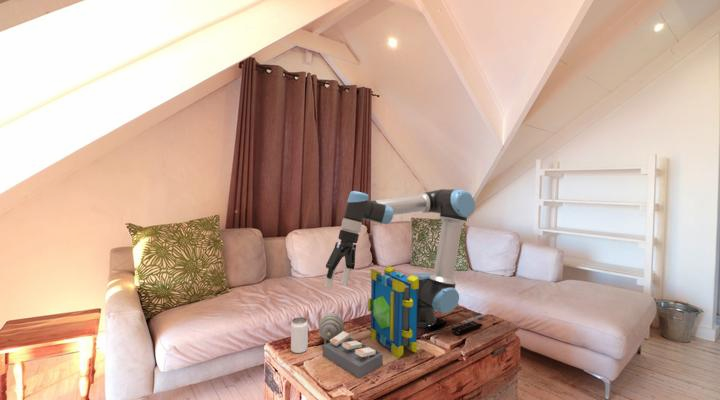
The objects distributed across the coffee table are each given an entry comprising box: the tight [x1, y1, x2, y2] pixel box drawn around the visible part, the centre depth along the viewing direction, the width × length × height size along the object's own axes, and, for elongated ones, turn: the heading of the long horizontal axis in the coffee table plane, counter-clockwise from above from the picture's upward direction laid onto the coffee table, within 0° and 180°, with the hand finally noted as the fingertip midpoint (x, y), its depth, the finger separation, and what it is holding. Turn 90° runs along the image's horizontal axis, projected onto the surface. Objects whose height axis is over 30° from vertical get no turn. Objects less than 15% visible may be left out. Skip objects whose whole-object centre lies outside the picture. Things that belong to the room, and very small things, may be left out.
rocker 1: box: [329, 330, 351, 346], centre depth 127 cm, size 7×4×2 cm, turn 134°
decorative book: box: [367, 265, 419, 360], centre depth 133 cm, size 14×23×30 cm, turn 29°
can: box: [290, 316, 309, 354], centre depth 129 cm, size 6×6×12 cm
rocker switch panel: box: [322, 337, 384, 379], centre depth 122 cm, size 12×20×5 cm, turn 44°
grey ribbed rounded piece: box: [318, 312, 345, 345], centre depth 136 cm, size 11×17×11 cm, turn 3°
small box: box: [355, 346, 377, 357], centre depth 117 cm, size 7×4×2 cm, turn 135°
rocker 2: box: [342, 340, 363, 350], centre depth 122 cm, size 7×4×2 cm, turn 134°
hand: (336, 285), depth 124 cm, fingers open, 13 cm apart
